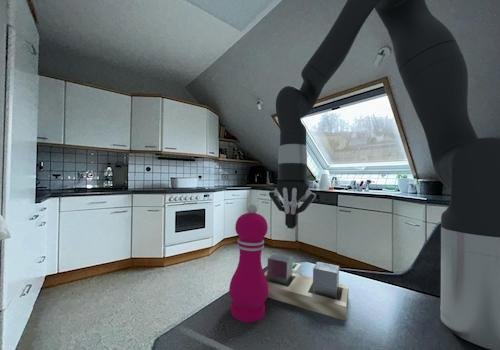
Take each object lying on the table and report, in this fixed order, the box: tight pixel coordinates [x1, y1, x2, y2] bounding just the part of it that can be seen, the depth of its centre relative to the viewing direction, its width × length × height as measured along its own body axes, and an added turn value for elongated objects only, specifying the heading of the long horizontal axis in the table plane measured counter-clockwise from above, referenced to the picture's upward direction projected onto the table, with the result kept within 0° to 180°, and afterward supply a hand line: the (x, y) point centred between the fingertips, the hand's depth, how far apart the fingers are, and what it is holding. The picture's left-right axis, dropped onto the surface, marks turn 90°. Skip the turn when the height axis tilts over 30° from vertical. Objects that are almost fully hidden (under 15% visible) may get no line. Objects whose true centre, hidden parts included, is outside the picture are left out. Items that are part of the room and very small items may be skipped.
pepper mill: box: [228, 204, 269, 323], centre depth 40 cm, size 7×7×20 cm
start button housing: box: [292, 262, 302, 275], centre depth 56 cm, size 5×5×3 cm
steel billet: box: [266, 252, 294, 287], centre depth 48 cm, size 4×4×7 cm
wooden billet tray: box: [264, 270, 350, 322], centre depth 46 cm, size 18×9×3 cm, turn 63°
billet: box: [312, 261, 340, 300], centre depth 44 cm, size 4×4×7 cm
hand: (291, 228), depth 57 cm, fingers closed
